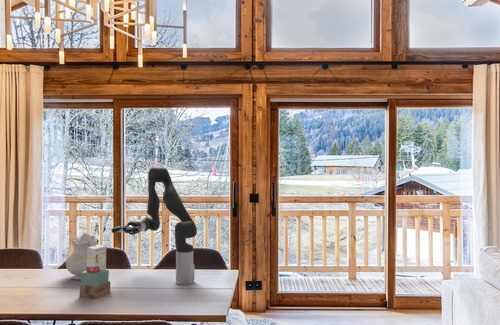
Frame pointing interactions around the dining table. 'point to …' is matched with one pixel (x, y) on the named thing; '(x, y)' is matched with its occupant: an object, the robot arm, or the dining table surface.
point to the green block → (95, 278)
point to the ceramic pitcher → (79, 254)
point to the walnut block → (95, 291)
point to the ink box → (96, 258)
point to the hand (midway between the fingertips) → (119, 230)
